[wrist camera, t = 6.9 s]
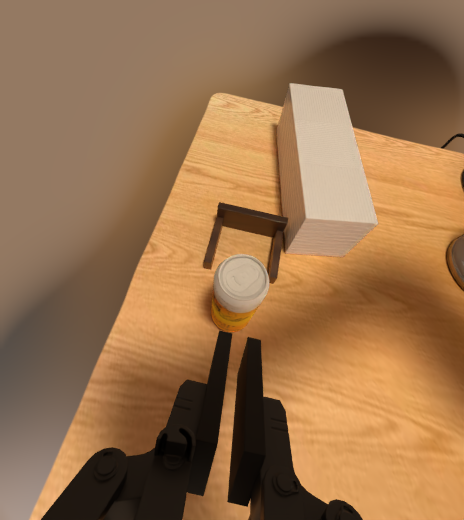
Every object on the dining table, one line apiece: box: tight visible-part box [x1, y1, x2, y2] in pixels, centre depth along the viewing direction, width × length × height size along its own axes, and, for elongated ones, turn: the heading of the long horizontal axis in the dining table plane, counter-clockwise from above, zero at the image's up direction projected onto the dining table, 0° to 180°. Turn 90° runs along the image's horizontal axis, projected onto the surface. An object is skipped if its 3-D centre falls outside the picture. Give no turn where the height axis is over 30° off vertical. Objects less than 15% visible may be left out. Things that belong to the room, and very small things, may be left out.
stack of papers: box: [276, 83, 378, 257], centre depth 49 cm, size 32×11×11 cm, turn 179°
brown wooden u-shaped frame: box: [204, 202, 288, 284], centre depth 44 cm, size 10×12×5 cm
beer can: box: [211, 254, 269, 332], centre depth 34 cm, size 6×6×15 cm
